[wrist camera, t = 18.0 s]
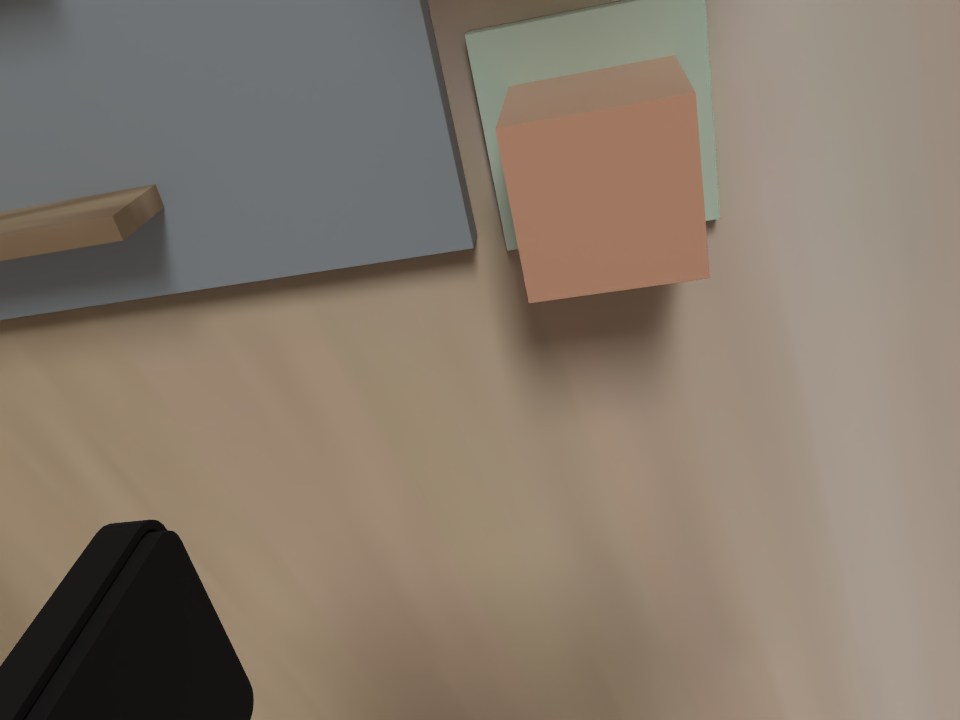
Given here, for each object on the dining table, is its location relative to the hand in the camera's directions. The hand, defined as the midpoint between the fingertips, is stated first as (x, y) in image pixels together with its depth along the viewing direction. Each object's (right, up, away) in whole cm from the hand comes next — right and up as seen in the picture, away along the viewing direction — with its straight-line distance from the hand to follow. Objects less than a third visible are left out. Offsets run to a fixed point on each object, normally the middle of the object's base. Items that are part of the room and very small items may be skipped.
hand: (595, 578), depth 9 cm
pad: (+2, +10, +18) cm, 20 cm away
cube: (+3, +9, +17) cm, 20 cm away
